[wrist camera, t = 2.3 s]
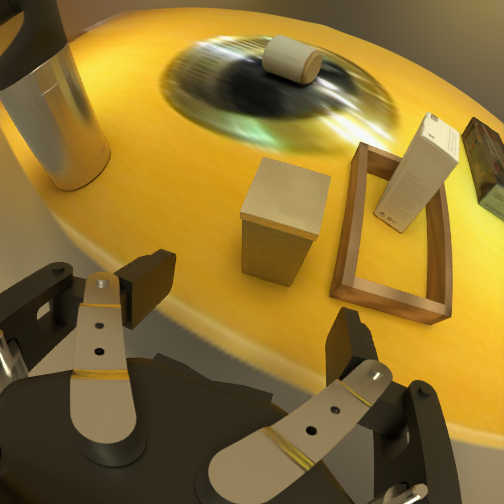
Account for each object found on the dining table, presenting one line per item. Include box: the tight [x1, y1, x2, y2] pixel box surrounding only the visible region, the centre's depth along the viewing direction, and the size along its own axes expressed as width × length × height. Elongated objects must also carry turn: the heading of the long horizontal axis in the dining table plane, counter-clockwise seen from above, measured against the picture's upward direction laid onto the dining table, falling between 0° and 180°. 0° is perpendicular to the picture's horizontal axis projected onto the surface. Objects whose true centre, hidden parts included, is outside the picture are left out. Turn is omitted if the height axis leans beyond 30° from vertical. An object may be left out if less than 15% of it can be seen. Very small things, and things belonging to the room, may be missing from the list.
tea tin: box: [240, 157, 331, 287], centre depth 21 cm, size 5×5×10 cm
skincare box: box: [374, 112, 459, 232], centre depth 23 cm, size 6×4×12 cm
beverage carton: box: [462, 117, 504, 221], centre depth 31 cm, size 8×19×7 cm, turn 159°
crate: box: [329, 142, 453, 325], centre depth 26 cm, size 12×18×4 cm, turn 162°
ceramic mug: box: [262, 35, 322, 84], centre depth 37 cm, size 11×8×8 cm
